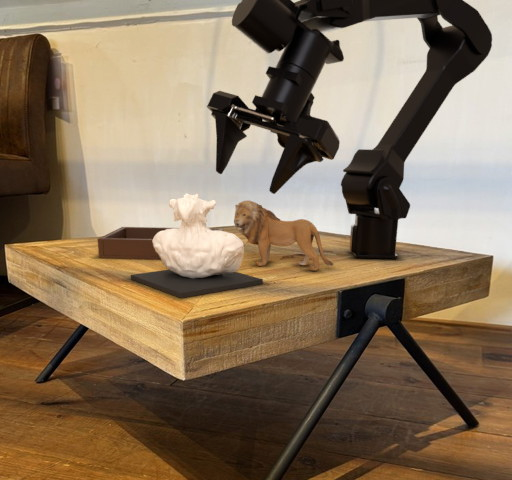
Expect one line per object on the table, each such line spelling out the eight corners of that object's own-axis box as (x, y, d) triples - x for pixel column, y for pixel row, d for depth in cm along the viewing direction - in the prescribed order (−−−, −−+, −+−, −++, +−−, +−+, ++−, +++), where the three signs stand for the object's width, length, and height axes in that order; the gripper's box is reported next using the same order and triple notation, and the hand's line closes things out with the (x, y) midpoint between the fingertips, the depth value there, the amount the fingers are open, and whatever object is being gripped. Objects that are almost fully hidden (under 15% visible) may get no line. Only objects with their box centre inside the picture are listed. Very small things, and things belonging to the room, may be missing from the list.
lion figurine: (228, 265, 82) (228, 201, 79) (239, 259, 87) (239, 198, 84) (330, 272, 78) (334, 205, 75) (336, 265, 83) (339, 202, 80)
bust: (153, 290, 74) (125, 227, 65) (168, 247, 78) (144, 182, 69) (242, 296, 72) (226, 232, 62) (253, 251, 76) (240, 185, 66)
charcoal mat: (208, 268, 80) (208, 264, 80) (262, 283, 71) (263, 279, 71) (130, 279, 73) (130, 274, 73) (180, 298, 64) (180, 293, 64)
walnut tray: (223, 245, 99) (223, 228, 98) (214, 260, 86) (214, 241, 85) (123, 243, 99) (122, 226, 98) (98, 257, 87) (97, 238, 86)
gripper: (372, 121, 79) (322, 224, 80) (265, 92, 87) (221, 186, 88) (349, 76, 69) (292, 194, 70) (230, 48, 77) (181, 154, 78)
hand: (244, 182), depth 77 cm, fingers open, 9 cm apart
